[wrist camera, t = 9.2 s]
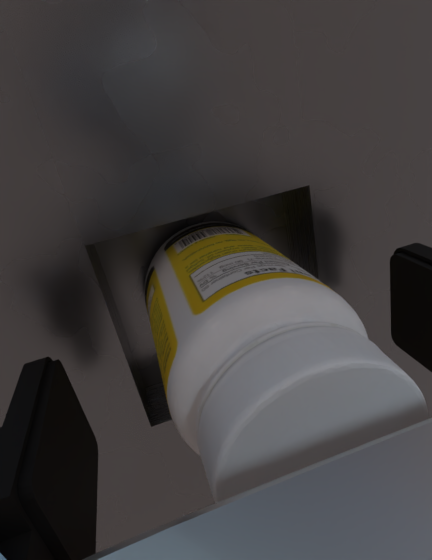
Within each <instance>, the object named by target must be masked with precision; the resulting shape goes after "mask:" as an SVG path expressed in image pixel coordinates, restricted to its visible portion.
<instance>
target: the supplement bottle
mask: <svg viewBox="0 0 432 560" xmlns="http://www.w3.org/2000/svg"><path fill="white" fill-rule="evenodd" d="M144 295H145V303H146V308H147V312H148V317H149V322H150V326H151V330H152V335H153V339H154V343H155V348H156V352H157V357H158V362H159V367H160V371H161V375H162V380H163V385H164V390H165V394H166V399H167V403H168V407H169V411H170V415H171V418H172V420H173V422H174V424H175V426H176V428H177V430H178V432H179V434H180V435H181V437H182V438H183V439H184V441H185V442H186V443H187V444H188V446H189V447H190V448H191V449H193V450H194V451H195V452H196V453H197V454H198V455H200V457H201V460H202V463H203V466H204V469H205V473H206V476H207V479H208V483H209V486H210V489H211V492H212V495H213V498H214V501H215V503H217V502H220V501H222V500H225V499H227V498H230V497H232V496H235V495H237V494H240V493H242V492H245V491H247V490H250V489H252V488H255V487H257V486H260V485H262V484H265V483H267V482H270V481H272V480H275V479H277V478H280V477H282V476H285V475H287V474H290V473H292V472H295V471H297V470H300V469H302V468H305V467H307V466H310V465H312V464H315V463H317V462H320V461H323V460H325V459H328V458H330V457H333V456H335V455H338V454H340V453H343V452H345V451H348V450H350V449H353V448H356V447H358V446H361V445H363V444H366V443H368V442H371V441H373V440H376V439H378V438H381V437H383V436H386V435H389V434H391V433H394V432H396V431H399V430H401V429H404V428H406V427H409V426H412V425H414V424H417V423H419V422H422V421H424V420H427V419H429V414H428V408H427V405H426V401H425V399H424V396H423V394H422V392H421V391H420V389H419V387H418V386H417V385H416V383H415V382H414V381H413V380H412V379H411V378H410V377H409V376H408V375H407V374H406V373H405V372H404V371H403V370H402V369H401V368H400V367H399V366H398V365H397V364H395V363H394V362H393V361H392V360H391V359H390V358H389V357H388V356H386V355H385V354H384V353H383V352H382V351H381V350H380V348H379V347H378V346H377V345H375V344H374V343H373V342H372V341H370V340H369V339H368V336H367V332H366V330H365V327H364V325H363V323H362V321H361V320H360V318H359V317H358V315H357V313H356V312H355V311H354V309H353V308H352V307H351V306H350V305H349V304H348V303H347V302H346V301H345V300H344V299H343V298H342V297H341V296H340V295H338V294H337V293H336V292H334V291H333V290H332V289H331V288H329V287H328V286H327V285H325V284H323V283H322V282H321V281H319V280H318V279H317V278H315V277H314V276H312V275H311V274H309V273H308V272H307V271H305V270H304V269H302V268H301V267H299V266H298V265H297V264H295V263H294V262H293V261H291V260H290V259H288V258H287V257H285V256H284V255H283V254H281V253H280V252H278V251H277V250H275V249H274V248H273V247H271V246H270V245H268V244H267V243H266V242H264V241H263V240H261V239H260V238H258V237H257V236H256V235H254V234H253V233H251V232H250V231H248V230H246V229H244V228H242V227H240V226H238V225H235V224H231V223H226V222H218V221H210V222H202V223H198V224H194V225H192V226H189V227H186V228H184V229H182V230H180V231H179V232H177V233H176V234H174V235H173V236H172V237H170V238H169V239H168V240H167V241H166V242H165V243H164V244H163V245H162V246H161V247H160V249H159V250H158V251H157V253H156V254H155V256H154V257H153V259H152V261H151V264H150V266H149V268H148V271H147V275H146V279H145V286H144Z"/></svg>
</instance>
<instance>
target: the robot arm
mask: <svg viewBox="0 0 432 560" xmlns="http://www.w3.org/2000/svg"><path fill="white" fill-rule="evenodd" d="M390 306H391V337H392V339H393V341H394V343H395V344H396V345H397V346H398V347H399V348H400V349H402V350H403V351H404V352H406V353H407V354H408V355H410V356H411V357H412V358H413V359H415V360H416V361H417V362H419V363H420V364H421V365H423V366H424V367H425V368H427V369H428V370H429V371H431V372H432V248H431V247H428V246H426V245H423V244H420V243H413V244H410V245H407V246H403V247H400V248H397V249H396V250H395V251H394V254H393V255H392V256H391V258H390ZM97 485H98V445H97V441H96V438H95V435H94V433H93V431H92V429H91V426H90V424H89V422H88V420H87V418H86V415H85V413H84V411H83V409H82V407H81V404H80V402H79V400H78V398H77V396H76V393H75V391H74V389H73V387H72V385H71V382H70V380H69V378H68V376H67V373H66V371H65V369H64V367H63V365H62V363H61V361H60V360H55V361H53V360H52V359H51V358H50V357H45V358H42V359H38V360H35V361H32V362H29V363H26V364H24V365H23V368H22V371H21V374H20V376H19V379H18V382H17V385H16V388H15V391H14V394H13V396H12V399H11V402H10V405H9V408H8V411H7V414H6V416H5V419H4V422H3V425H2V427H0V560H432V418H429V419H427V420H424V421H422V422H419V423H417V424H414V425H412V426H409V427H406V428H404V429H401V430H399V431H396V432H394V433H391V434H389V435H386V436H383V437H381V438H378V439H376V440H373V441H371V442H368V443H366V444H363V445H361V446H358V447H356V448H353V449H350V450H348V451H345V452H343V453H340V454H338V455H335V456H333V457H330V458H328V459H325V460H323V461H320V462H317V463H315V464H312V465H310V466H307V467H305V468H302V469H300V470H297V471H295V472H292V473H290V474H287V475H285V476H282V477H280V478H277V479H275V480H272V481H270V482H267V483H265V484H262V485H260V486H257V487H255V488H252V489H250V490H247V491H245V492H242V493H240V494H237V495H235V496H232V497H230V498H227V499H225V500H222V501H220V502H217V503H215V504H212V505H210V506H207V507H205V508H202V509H200V510H197V511H195V512H192V513H190V514H188V515H185V516H183V517H180V518H178V519H175V520H173V521H171V522H168V523H166V524H163V525H161V526H158V527H156V528H154V529H151V530H149V531H146V532H144V533H142V534H139V535H137V536H134V537H132V538H130V539H127V540H125V541H123V542H121V543H118V544H116V545H114V546H111V547H109V548H107V549H105V550H102V551H100V552H98V553H96V523H97Z"/></svg>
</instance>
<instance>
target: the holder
mask: <svg viewBox="0 0 432 560" xmlns="http://www.w3.org/2000/svg"><path fill="white" fill-rule="evenodd" d="M210 221H218V222H226V223H231V224H235V225H238V226H240V227H242V228H244V229H246V230H248V231H250V232H251V233H253V234H254V235H256V236H257V237H258V238H260V239H261V240H263V241H264V242H266V243H267V244H268V245H270V246H271V247H273V248H274V249H275V250H277V251H278V252H280V253H281V254H283V255H284V256H285V257H287V258H288V259H290V260H291V261H293V262H294V263H295V264H297V265H298V266H299V267H301V268H302V269H304V270H305V271H307V272H308V273H309V274H311V275H312V276H314V277H315V278H317V279H318V280H319V281H321V282H322V283H323V284H325V285H327V286H328V287H329V288H331V289H332V290H333V291H334V292H336V293H337V294H338V295H340V296H341V297H342V298H343V299H344V300H345V301H346V302H347V303H348V304H349V305H350V306H351V307H352V308H353V309H354V311H355V312H356V313H357V315H358V317H359V318H360V320H361V321H362V323H363V325H364V327H365V330H366V332H367V336H368V339H369V340H370V341H372V342H373V343H374V344H375V345H377V346H378V347H379V348H380V350H381V351H382V352H383V353H384V354H385V355H386V356H388V357H389V358H390V359H391V360H392V361H393V362H394V363H395V364H397V365H398V366H399V367H400V368H401V369H402V370H403V371H404V372H405V373H406V374H407V375H408V376H409V377H410V378H411V379H412V380H413V381H414V382H415V383H416V385H417V386H418V387H419V389H420V391H421V392H422V394H423V396H424V399H425V401H426V405H427V408H428V414H429V418H432V372H431V371H429V370H428V369H427V368H425V367H424V366H423V365H421V364H420V363H419V362H417V361H416V360H415V359H413V358H412V357H411V356H410V355H408V354H407V353H406V352H404V351H403V350H402V349H400V348H399V347H398V346H397V345H396V344H395V343H394V341H393V339H392V337H391V306H390V258H391V256H392V255H393V254H394V251H395V250H396V249H397V248H400V247H403V246H407V245H410V244H413V243H420V244H423V245H426V246H428V247H431V248H432V0H0V427H2V425H3V422H4V419H5V416H6V414H7V411H8V408H9V405H10V402H11V399H12V396H13V394H14V391H15V388H16V385H17V382H18V379H19V376H20V374H21V371H22V368H23V365H24V364H26V363H29V362H32V361H35V360H38V359H42V358H45V357H50V358H51V359H52V360H53V361H55V360H60V361H61V363H62V365H63V367H64V369H65V371H66V373H67V376H68V378H69V380H70V382H71V385H72V387H73V389H74V391H75V393H76V396H77V398H78V400H79V402H80V404H81V407H82V409H83V411H84V413H85V415H86V418H87V420H88V422H89V424H90V426H91V429H92V431H93V433H94V435H95V438H96V441H97V445H98V485H97V523H96V553H98V552H100V551H102V550H105V549H107V548H109V547H111V546H114V545H116V544H118V543H121V542H123V541H125V540H127V539H130V538H132V537H134V536H137V535H139V534H142V533H144V532H146V531H149V530H151V529H154V528H156V527H158V526H161V525H163V524H166V523H168V522H171V521H173V520H175V519H178V518H180V517H183V516H185V515H188V514H190V513H192V512H195V511H197V510H200V509H202V508H205V507H207V506H210V505H212V504H215V501H214V498H213V495H212V492H211V489H210V486H209V483H208V479H207V476H206V473H205V469H204V466H203V463H202V460H201V457H200V455H198V454H197V453H196V452H195V451H194V450H193V449H191V448H190V447H189V446H188V444H187V443H186V442H185V441H184V439H183V438H182V437H181V435H180V434H179V432H178V430H177V428H176V426H175V424H174V422H173V420H172V418H171V415H170V411H169V407H168V403H167V399H166V394H165V390H164V385H163V380H162V375H161V371H160V367H159V362H158V357H157V352H156V348H155V343H154V339H153V335H152V330H151V326H150V322H149V317H148V312H147V308H146V303H145V295H144V286H145V279H146V275H147V271H148V268H149V266H150V264H151V261H152V259H153V257H154V256H155V254H156V253H157V251H158V250H159V249H160V247H161V246H162V245H163V244H164V243H165V242H166V241H167V240H168V239H169V238H170V237H172V236H173V235H174V234H176V233H177V232H179V231H180V230H182V229H184V228H186V227H189V226H192V225H194V224H198V223H202V222H210Z"/></svg>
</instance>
